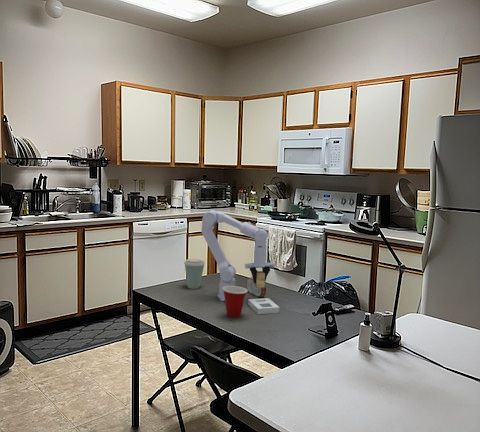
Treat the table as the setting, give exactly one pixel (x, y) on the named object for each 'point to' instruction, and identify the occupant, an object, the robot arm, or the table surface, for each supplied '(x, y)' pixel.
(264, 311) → the socket block
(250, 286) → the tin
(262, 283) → the square peg
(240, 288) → the plastic cup
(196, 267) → the disposable coffee cup
